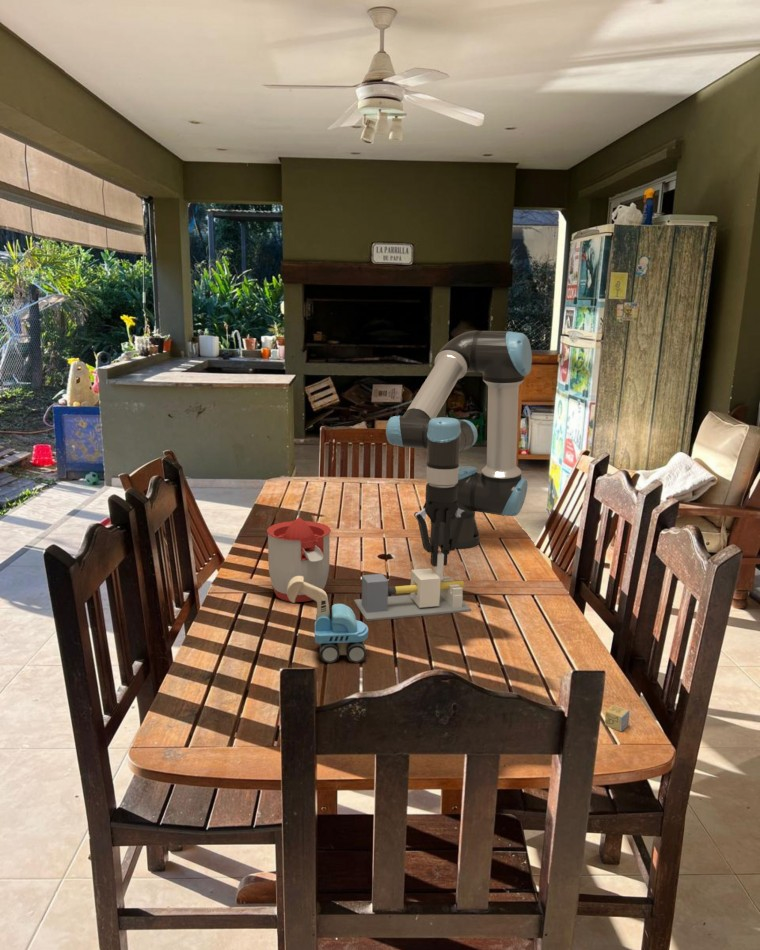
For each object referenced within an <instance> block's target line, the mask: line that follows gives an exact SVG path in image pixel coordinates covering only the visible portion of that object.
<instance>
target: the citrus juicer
mask: <svg viewBox="0 0 760 950" xmlns="http://www.w3.org/2000/svg"><path fill="white" fill-rule="evenodd" d="M331 531H332V530H331V527H330V526H328V525H327V524H324V523H321V522H315V521H310V520H309V521H308V520H304V519H302V518H301V517H297V518H296V519H295V520H292V521H291V520H290V521H283V522H279V523H276V524H273V525H271V526H269V527H268V528H267V530H266V533H267V549H268V550H267V552H268V553H267V557H268V565H267V566H268V572H269V578H270V581H271V584H272V588H273V591H274V594H275V595H276V597H277V598H279V599H280V600H282V601H286V602H290V603H293V602H291V601H290V600H289V599H288V597H287V587H288V583H289V581H290V580H291V579H292V578H293V577H295V576H303V577H304V582H306V583H309V584H311V585H313V586H316V587H318V588H320V589H322V590H324V591H325V588H326V584H327V581H328V578H329V573H330V543H331V541H330V538H331V537H330V534H331V533H332V532H331ZM309 601H310V602H311V601H314V600H313V599H311V598H310V597H308V596H306V595H304V594H302V593H301V592H299V593H298V595H297V597H296V599H295V603H301V602H309ZM293 604H294V603H293Z"/></svg>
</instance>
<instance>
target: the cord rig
mask: <svg viewBox="0 0 760 950" xmlns="http://www.w3.org/2000/svg"><path fill="white" fill-rule="evenodd" d="M463 589H465V583H464V581H463V580H458V581H457V580H455V579H453V578H452V576H451V575H450V576H443V580H440V600H439V606H432V607H422V608H419V606H418V605H417V604H416V603H415V602H414V600H413V599H412V598H411V597H410V594H411V593H414V592H417V585H411V584H408V585H398V586H397V585H396V586H389V580H388V579H387V578H386V576H384V574H383V573H378V574H377V573H375V574H362V576H361V599H360V598H358V599H353V602H354V604H355V606H356V607H357V608H358V610H359V611H360V613H361V615H362V616H363V618H364V620H365V622H371V621H372V622H373V621H383V620H392V619H393V620H394V619H402V618H404V619H405V618H413V617H423V616H433V615H445V614H454V613H464V612H465V613H467V612H472V610H473V609H472V608H471V607H470V606H469V604H467V603H466V602H465V601H464V600H463V599H464V595H463V591H464V590H463ZM401 594H402V595H401ZM403 594H404V595H403Z"/></svg>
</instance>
